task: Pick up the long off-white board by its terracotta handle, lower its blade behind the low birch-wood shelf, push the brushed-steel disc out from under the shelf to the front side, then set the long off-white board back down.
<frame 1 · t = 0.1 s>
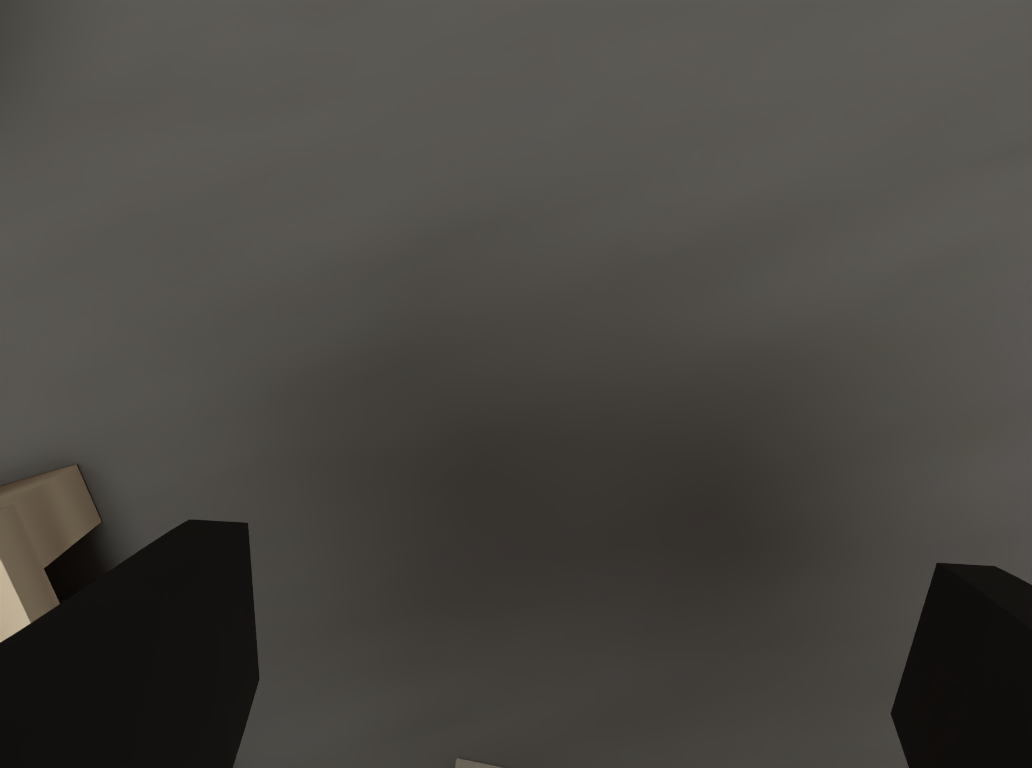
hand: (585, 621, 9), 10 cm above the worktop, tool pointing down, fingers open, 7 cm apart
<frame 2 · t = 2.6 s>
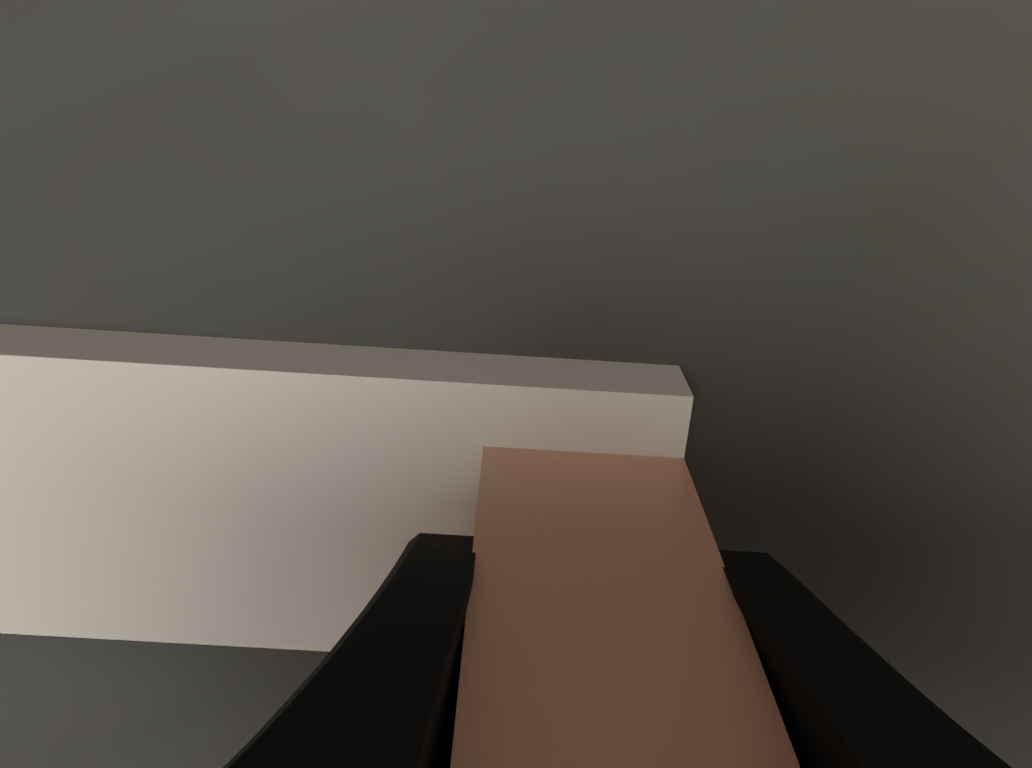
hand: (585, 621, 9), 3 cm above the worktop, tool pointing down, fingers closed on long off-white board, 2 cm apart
long off-white board: (570, 496, 11), on the worktop, touching gripper
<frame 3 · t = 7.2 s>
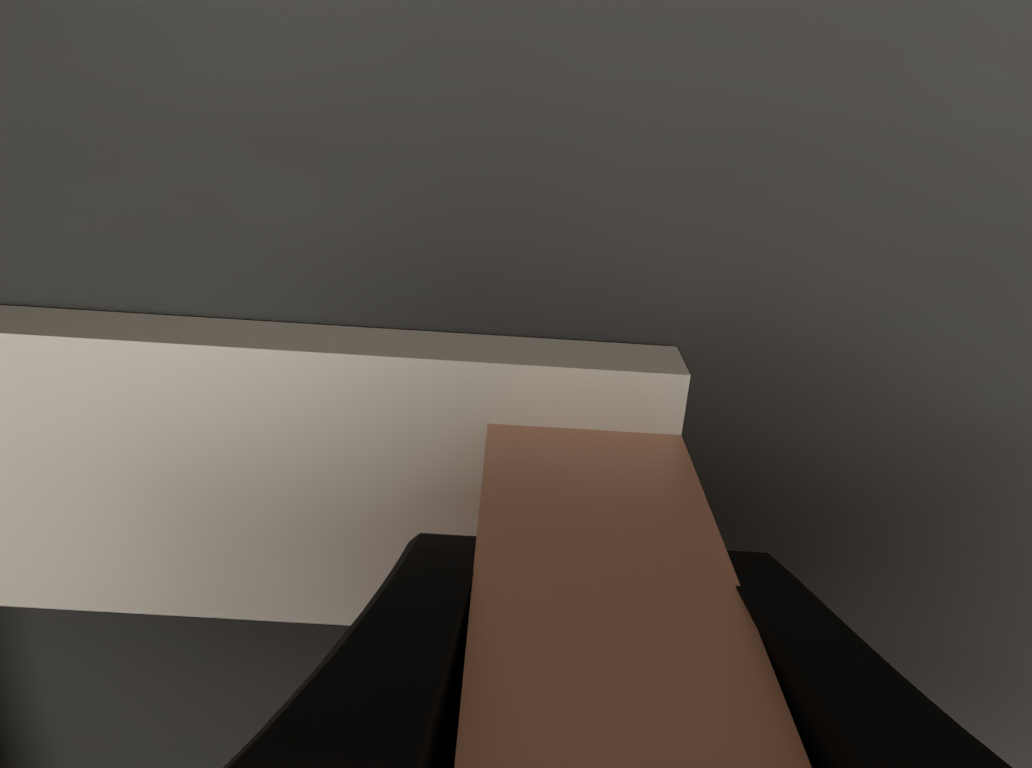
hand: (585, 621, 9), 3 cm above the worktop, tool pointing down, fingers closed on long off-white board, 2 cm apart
long off-white board: (571, 475, 12), on the worktop, touching gripper, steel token
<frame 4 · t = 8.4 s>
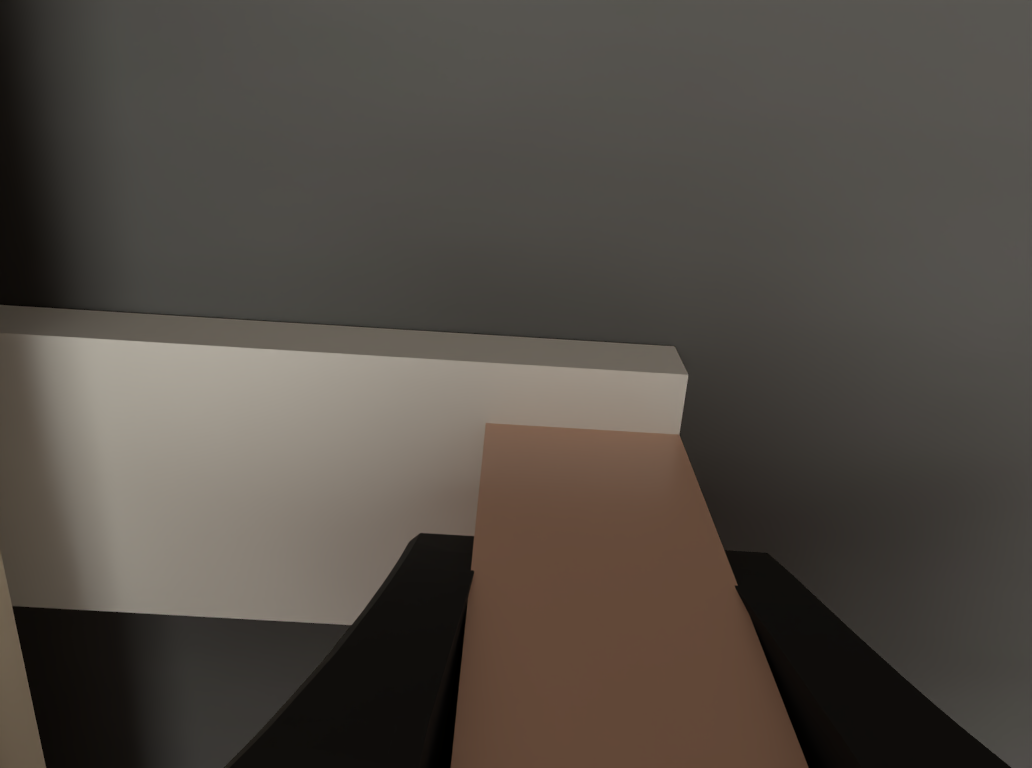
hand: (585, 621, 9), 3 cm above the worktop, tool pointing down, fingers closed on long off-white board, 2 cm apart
long off-white board: (570, 474, 12), on the worktop, touching gripper
when the fingers open (4 cm above the worktop, at t = 12.6 s): long off-white board stays where it is, on the worktop.
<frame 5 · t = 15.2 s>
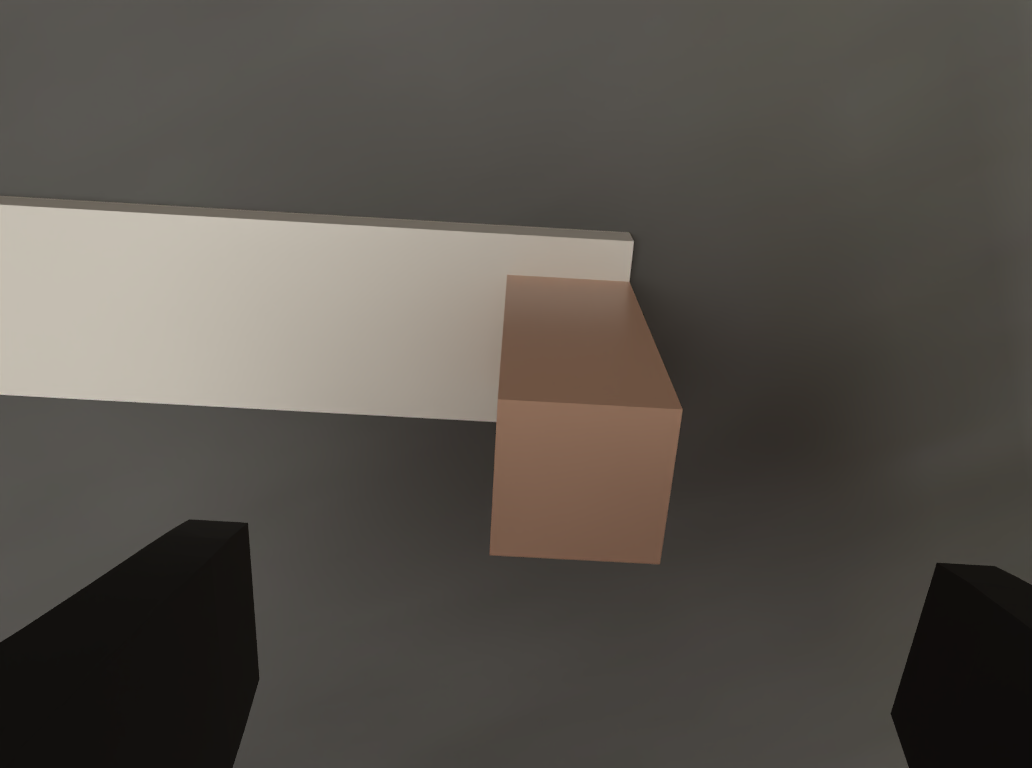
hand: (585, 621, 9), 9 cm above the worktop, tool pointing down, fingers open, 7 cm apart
long off-white board: (561, 320, 18), on the worktop
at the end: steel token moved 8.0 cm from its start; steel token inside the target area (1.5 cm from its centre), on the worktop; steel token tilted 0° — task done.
